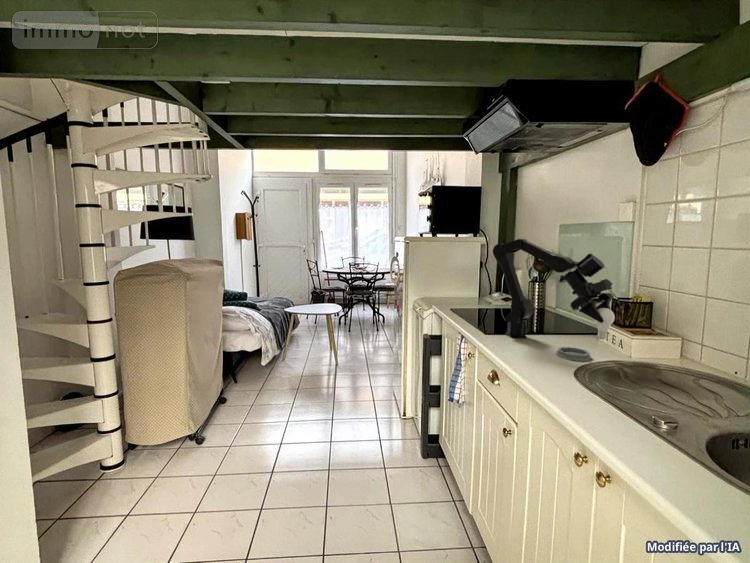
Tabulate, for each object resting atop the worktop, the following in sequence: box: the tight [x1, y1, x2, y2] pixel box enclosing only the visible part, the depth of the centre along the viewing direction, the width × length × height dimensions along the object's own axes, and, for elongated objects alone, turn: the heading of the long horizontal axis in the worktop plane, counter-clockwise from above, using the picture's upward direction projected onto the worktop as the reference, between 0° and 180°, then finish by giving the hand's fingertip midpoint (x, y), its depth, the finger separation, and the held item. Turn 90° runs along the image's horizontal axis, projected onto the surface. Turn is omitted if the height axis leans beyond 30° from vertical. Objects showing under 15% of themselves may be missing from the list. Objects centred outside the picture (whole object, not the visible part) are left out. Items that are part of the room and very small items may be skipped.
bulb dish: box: [555, 346, 592, 362], centre depth 138 cm, size 11×11×2 cm
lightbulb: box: [593, 308, 616, 340], centre depth 138 cm, size 6×6×11 cm
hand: (607, 321), depth 137 cm, fingers closed on lightbulb, 6 cm apart
